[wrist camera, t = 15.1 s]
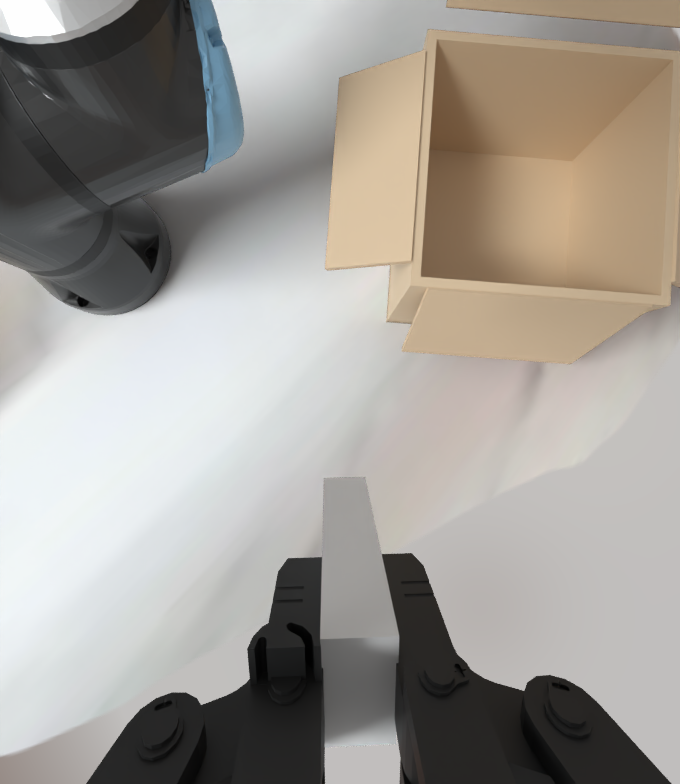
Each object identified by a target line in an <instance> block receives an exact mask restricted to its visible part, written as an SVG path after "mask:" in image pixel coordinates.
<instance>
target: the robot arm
mask: <svg viewBox="0 0 680 784" xmlns="http://www.w3.org/2000/svg"><path fill="white" fill-rule="evenodd" d="M243 136H244V124H243V116H242V109H241V104H240V99H239V94H238V90H237V86H236V81H235V77H234V73H233V69H232V65H231V62H230V59H229V55H228V52H227V48H226V46H225V44H224V42H223V41H222V35H221V31H220V28H219V24H218V20H217V16H216V12H215V9H214V6H213V3H212V1H211V0H0V260H1V261H3V262H6V263H8V264H11V265H13V266H16V267H18V268H21V269H23V270H26V271H27V272H28V273H29V274H30V275H31V276H33V277H34V278H35V279H36V280H37V281H38V282H39V283H40V284H41V285H42V286H43V287H44V288H45V289H46V290H47V291H49V292H50V293H51V294H52V295H53V296H54V297H56V298H57V299H59V300H60V301H62V302H64V303H65V304H67V305H69V306H72V307H74V308H77V309H80V310H82V311H85V312H88V313H92V314H97V315H116V314H121V313H125V312H128V311H131V310H133V309H135V308H137V307H139V306H141V305H142V304H144V303H145V302H146V301H148V300H149V299H150V298H151V297H152V296H153V295H154V294H155V293H156V292H157V290H158V289H159V288H160V286H161V285H162V283H163V281H164V279H165V277H166V275H167V272H168V268H169V264H170V255H171V250H170V241H169V237H168V233H167V231H166V228H165V226H164V224H163V222H162V221H161V219H160V218H159V216H158V215H157V214H156V213H155V211H154V210H153V209H152V208H151V207H150V206H149V205H148V204H147V203H146V202H145V201H144V200H143V199H142V198H141V197H142V196H144V195H147V194H149V193H152V192H154V191H156V190H159V189H161V188H164V187H166V186H168V185H171V184H173V183H176V182H178V181H180V180H183V179H185V178H188V177H190V176H192V175H195V174H197V173H200V172H201V173H204V172H206V171H207V170H209V169H210V168H211V166H212V165H214V164H216V163H218V162H221V161H223V160H225V159H227V158H229V157H231V156H233V155H234V154H235V153H236V152H237V151H238V149H239V147H240V146H241V144H242V141H243ZM247 650H248V662H249V673H250V679H249V680H248V682H247V683H246V684H245V685H243V686H242V687H240V688H239V689H238V690H237V691H235V692H233V693H231V694H229V695H227V696H224V697H222V698H219V699H216V700H214V701H212V702H209V703H206V704H203V705H200V703H199V701H198V699H197V698H195V697H193V696H191V695H189V694H187V693H170V694H167V695H164V696H161V697H159V698H156V699H155V700H153V701H152V702H150V703H149V704H147V705H146V706H145V707H143V708H142V709H140V711H139V712H138V713H137V714H136V715H135V716H134V718H133V719H132V720H131V721H130V722H129V723H128V724H127V726H126V727H125V728H124V730H123V731H122V733H121V734H120V736H119V737H118V739H117V740H116V742H115V743H114V744H113V746H112V747H111V749H110V750H109V752H108V753H107V754H106V756H105V757H104V759H103V760H102V762H101V763H100V765H99V766H98V768H97V769H96V770H95V772H94V773H93V775H92V776H91V778H90V779H89V781H88V782H87V783H86V784H325V768H324V754H325V753H324V752H325V751H324V750H325V747H344V746H364V745H365V746H366V745H388V744H396V732H397V738H398V743H399V750H400V757H401V762H400V784H671V783H670V782H669V781H668V779H666V777H665V776H664V775H663V774H662V773H661V772H660V771H659V770H658V769H657V767H656V766H655V765H654V764H653V763H652V762H651V761H650V760H649V759H648V757H647V756H646V755H645V754H644V753H643V752H642V751H641V750H640V749H639V748H638V747H637V746H636V744H635V743H634V742H633V741H632V740H631V739H630V738H629V737H628V736H627V734H626V733H625V732H624V731H623V730H622V729H621V728H620V727H619V726H618V725H617V723H616V722H615V721H614V720H613V719H612V718H611V717H610V716H609V715H608V714H607V712H605V711H604V709H603V708H602V707H601V706H600V705H599V704H598V703H597V702H596V701H595V700H594V699H593V698H592V697H591V696H590V695H588V694H587V693H586V692H585V691H584V690H583V689H582V688H580V687H578V686H576V685H575V684H573V683H571V682H569V681H567V680H566V679H562V678H559V677H555V676H551V675H546V676H536V677H535V678H533V679H532V680H531V681H529V682H528V683H527V685H526V688H525V691H522V690H519V689H515V688H511V687H508V686H504V685H501V684H497V683H494V682H491V681H489V680H487V679H484V678H482V677H481V676H479V675H478V674H476V673H474V672H473V671H472V670H471V669H470V668H469V667H468V665H467V663H466V662H465V661H464V660H463V659H462V658H460V657H459V656H458V655H457V653H456V651H455V649H454V647H453V645H452V642H451V639H450V637H449V634H448V631H447V629H446V626H445V623H444V620H443V618H442V615H441V612H440V610H439V607H438V604H437V601H436V598H435V597H434V593H433V590H432V588H431V585H430V584H429V579H428V577H427V574H426V571H425V568H424V566H423V565H422V564H421V563H420V562H419V560H418V559H417V558H416V557H415V556H414V555H413V554H411V553H408V554H407V553H405V554H382V553H381V549H380V544H379V540H378V535H377V530H376V526H375V521H374V516H373V512H372V507H371V502H370V498H369V493H368V489H367V484H366V479H365V477H345V478H324V495H323V538H322V557H317V558H288V559H287V560H286V562H285V563H284V565H283V566H282V567H281V569H280V570H279V571H278V576H277V581H276V586H275V592H274V597H273V604H272V608H271V613H270V618H269V623H268V624H266V625H264V626H263V627H262V628H261V629H260V630H259V631H258V632H257V633H256V634H255V635H254V636H253V638H252V640H251V642H250V644H249V647H248V649H247Z"/></svg>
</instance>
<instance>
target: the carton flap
mask: <svg viewBox="0 0 680 784" xmlns="http://www.w3.org/2000/svg"><path fill="white" fill-rule="evenodd" d="M446 7H448V8H459V9H471V10H482V11H493V12H505V13H516V14H527V15H539V16H550V17H561V18H573V19H584V20H596V21H607V22H618V23H630V24H641V25H652V26H664V27H675V28H680V0H447V4H446Z"/></svg>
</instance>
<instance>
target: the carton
mask: <svg viewBox="0 0 680 784" xmlns="http://www.w3.org/2000/svg"><path fill="white" fill-rule="evenodd" d="M384 265H390V278H389V292H388V306H387V320H386V322H394V323H407V324H412V325H411V327H410V330H409V332H408V334H407V337H406V339H405V342H404V344H403V346H402V351H403V352H416V353H430V354H443V355H456V356H470V357H483V358H496V359H509V360H523V361H536V362H549V363H563V364H571V363H573V362H574V361H576V360H577V359H579V358H580V357H582V356H583V355H585V354H586V353H587V352H589V351H590V350H592V349H593V348H595V347H596V346H598V345H599V344H600V343H602V342H603V341H605V340H606V339H608V338H609V337H611V336H612V335H613V334H615V333H616V332H618V331H619V330H621V329H622V328H624V327H625V326H626V325H628V324H629V323H631V322H632V321H634V320H635V319H637V318H638V317H639V316H641V315H642V314H644V313H646V312H649V311H653V310H656V309H660V308H664V307H667V306H670V300H671V284H672V285H674V286H677V287H679V288H680V51H673V50H661V49H650V48H638V47H627V46H615V45H604V44H592V43H581V42H569V41H558V40H546V39H535V38H524V37H512V36H501V35H489V34H478V33H466V32H455V31H443V30H432V29H428V31H427V35H426V39H425V43H424V47H423V50H422V51H419V52H416V53H413V54H410V55H407V56H404V57H401V58H398V59H395V60H392V61H389V62H386V63H383V64H380V65H377V66H374V67H371V68H367V69H364V70H361V71H358V72H355V73H352V74H349V75H346V76H343V77H340V78H339V89H338V102H337V116H336V129H335V142H334V156H333V169H332V182H331V196H330V209H329V223H328V236H327V249H326V263H325V269H326V270H327V271H328V270H339V269H350V268H361V267H373V266H384Z"/></svg>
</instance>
